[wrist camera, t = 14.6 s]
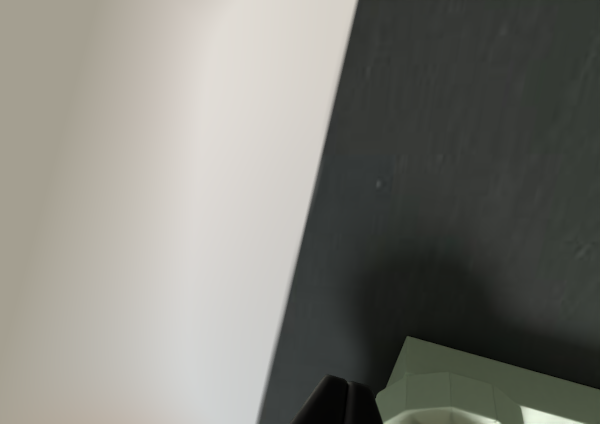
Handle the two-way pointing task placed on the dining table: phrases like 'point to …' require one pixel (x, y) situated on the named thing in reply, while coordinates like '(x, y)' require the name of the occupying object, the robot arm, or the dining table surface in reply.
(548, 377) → the housing
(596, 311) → the dining table surface
